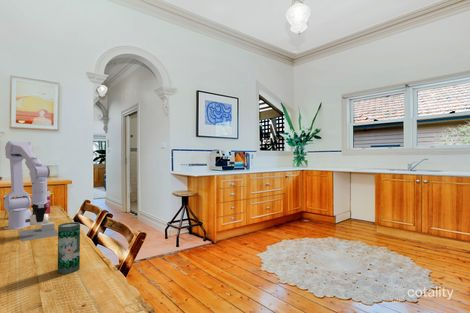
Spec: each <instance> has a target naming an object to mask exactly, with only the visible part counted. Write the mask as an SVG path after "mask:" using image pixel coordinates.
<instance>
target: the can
mask: <svg viewBox="0 0 470 313" xmlns="http://www.w3.org/2000/svg"><path fill="white" fill-rule="evenodd" d="M57 233H58V236H57V273H58V274H60V275H68V274H72V273H75V272H78V270H81V269H80V267H81V264H80V262H81V259H80V258H81V223H80V222H74V221H73V222H65V223H60V224H58V225H57ZM61 273H62V274H61Z"/></svg>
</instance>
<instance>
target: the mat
mask: <svg viewBox="0 0 470 313" xmlns="http://www.w3.org/2000/svg"><path fill="white" fill-rule="evenodd" d="M18 235H19V239H20V240H19V241H20V242H26V241H31V240H39V239H44V238H45V239H46V238H51V237H58V230H56V228H55V227H54V230H48V231H41V227H39V228H38V227H37V228H31V229H24V230H19V231H18Z"/></svg>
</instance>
